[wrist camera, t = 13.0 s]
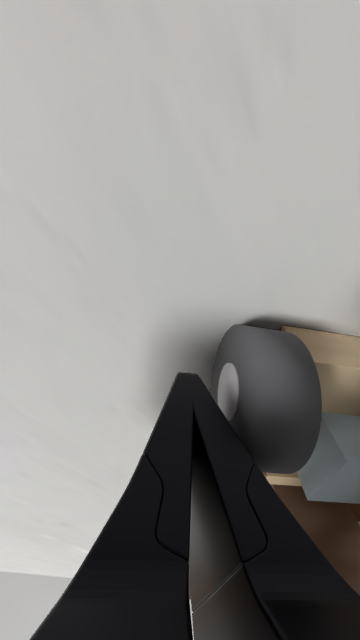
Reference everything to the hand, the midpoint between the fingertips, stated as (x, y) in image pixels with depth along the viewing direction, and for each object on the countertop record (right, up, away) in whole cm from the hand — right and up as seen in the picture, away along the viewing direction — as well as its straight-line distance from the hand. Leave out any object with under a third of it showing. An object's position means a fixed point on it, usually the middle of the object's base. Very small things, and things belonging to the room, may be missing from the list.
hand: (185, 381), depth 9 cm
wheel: (+2, +1, +2) cm, 3 cm away
